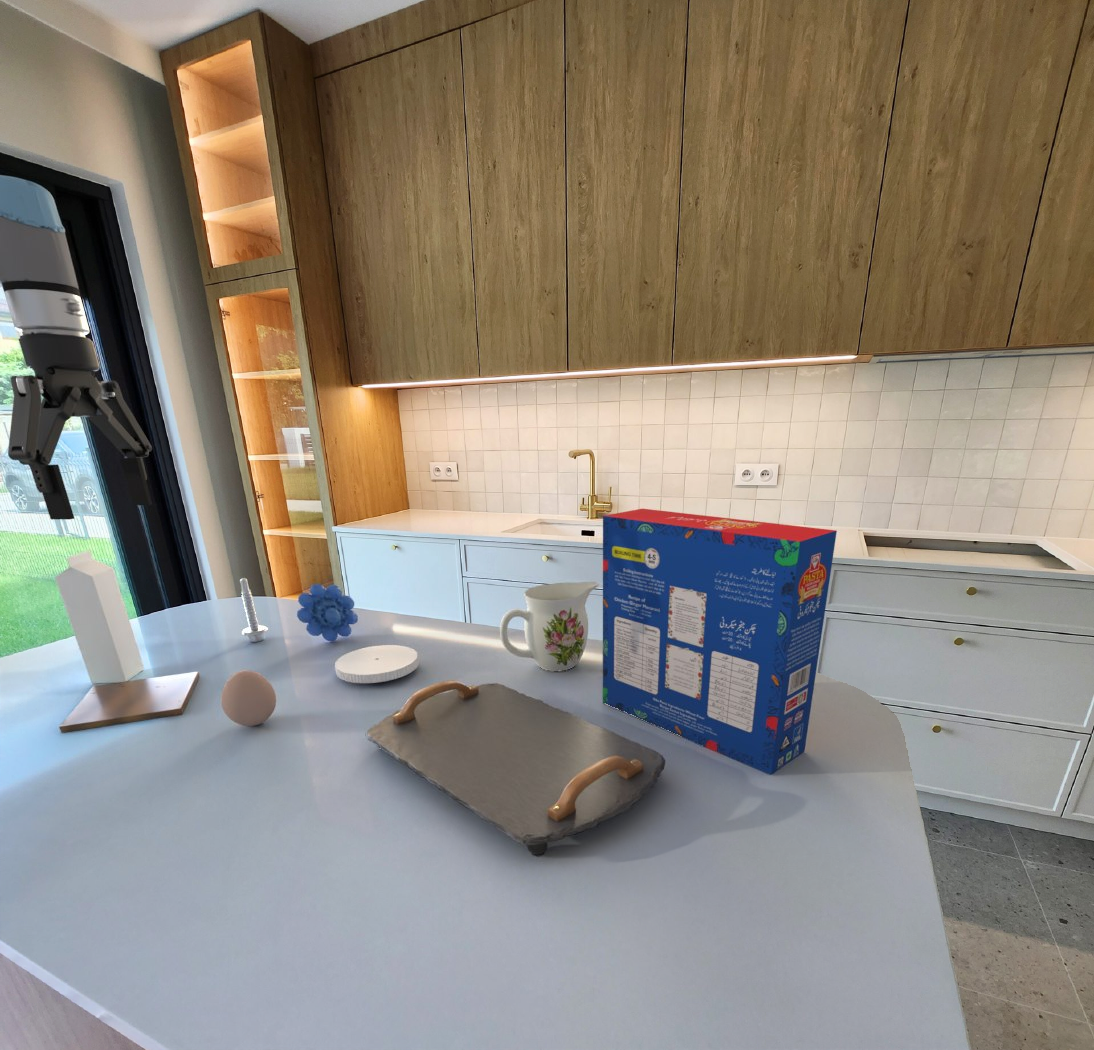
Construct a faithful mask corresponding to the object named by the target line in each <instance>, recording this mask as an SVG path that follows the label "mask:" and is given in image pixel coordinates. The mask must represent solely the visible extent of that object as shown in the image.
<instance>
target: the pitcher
mask: <svg viewBox="0 0 1094 1050" xmlns="http://www.w3.org/2000/svg"><path fill="white" fill-rule="evenodd" d="M599 586H600V582H598V581H582V582H581V581H580V582H556V583H554V582H553V583H545V584H542V585H536V586H534V587H533V586H532V587H530V588H528V589H526V590H525V591H524V598H525V602H526V606H527V607H526V610H524V609H521V608H512V609H510V610H508V611H506V613H505V614H504V615H503V616H502V618H501V620H500V624H499V636H500V641H501V643H502V645H503V647H504V648H505V649H506V650H507V651H508V652H509V653H510V654H512V655H513V656H516V657H519V658H527V659H529V658H530V659H533V660H534V662H535V663H536V664H537V665H538V667H539V666H540V667H541V668H543V669H545V670H544V671H547V670H552V671H551V672H554V671H558V672H560V671H559V670H566V669H569V668H571V667H573V666H575V665H576V666H577V664H578V663H579V661H580V660H581V659H582V657H583V655H584V652H585V649H586V647H587V641H588V637H589V617H588V613H587V610H586V609H587V608H586V603H587V600H588V598H589V596H590V594H591V592H593V590H595V589H596V588H597V587H599ZM514 618H523V619H524V621H523V623H524V624H523V628H524V638H525V641H526V646H527V649H524V648H523V649H522V648H519V647H516V646H515V645H514V644H512V643H511V642H510V640H509V637H508V636H509V635H508V626H509V624H510V622H511V620H512V619H514ZM576 666H575V667H576ZM540 667H539V668H540ZM541 668H540V669H541ZM543 669H542V670H543ZM566 671H567V670H566Z"/></svg>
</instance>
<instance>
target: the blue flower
mask: <svg viewBox="0 0 1094 1050" xmlns="http://www.w3.org/2000/svg"><path fill="white" fill-rule="evenodd" d="M298 603H299V605H300V606H301V607H300V608H298V610H297V611H296V617H297V619H298V620H299V621H300V622H301V623H303V624H306V631H307V633H308V634H309V635H310V636H312V637H319V636H322V638H323V639H324V640H325V641H327V642H335V641H336V640H337V639H338V638H339V637H338V636H340V637H349V636H350V635H351V634H352V627H351V626H350V625H355V624H357V623H358V620H359V616H358V614H357V613H356V612H355V611H354V610H352V609H354V607H355V601H354V599H353V598H352V596H349V595H343V591H342V589H341V588H340V586H338V585H336V584H330V585H328V586H327V587H326V588H325V587H324V585H322V584H321V583H313V584H312V585H311V586H310V587H309V593H308V592H302V593H300V594H299V595H298Z"/></svg>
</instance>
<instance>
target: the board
mask: <svg viewBox="0 0 1094 1050" xmlns="http://www.w3.org/2000/svg"><path fill="white" fill-rule="evenodd" d="M199 679H200V672H199V670H198V671H191V672H184V673H177V674H176V673H175V674H170V675H169V674H168V675H162V676H156V677H147V678H141V679H135V680H133V679H132V680H128V681H125V682H115V683H103V684H97V685H93V686H92V687H91V689H89V691H88V692H86V694H85V695H84V696H83V698H82V699H81V700H80V701H79V703H78V704H77V705H76V706H75V707H74V709H73V710H72V711H71V712H70V714H69V715H68V716H67V717H66V718H65V719H64V720H63V722H62V723H61V724H60V725H59V730H60V733H62V734H63V733H69V732H75V731H80V730H81V731H82V730H87V729H94V728H100V727H106V726H114V725H120V724H126V723H132V722H140V721H144V720H152V719H158V718H164V717H171V716H178V715H183V713H184V711H185V709H186V707H187V705H188V702H189V701H190V697H191V696H192V694H193V692H194V690H195V687H196V685H197V683H198V681H199Z"/></svg>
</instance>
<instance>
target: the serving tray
mask: <svg viewBox="0 0 1094 1050" xmlns="http://www.w3.org/2000/svg"><path fill="white" fill-rule="evenodd" d="M364 737H365V738H366V739H367V740H368V741H369V742H371V743H372V744H373V745H375V746H376V747H377V748H378V749H379V748H381V749H382V750H381V751H383V752H385V753H386V754H388V755H390V756H391V757H392V758H395V760H397V762H399V763H401V764H402V765H404V766H406V767H407V768H408V769H410V770H412V771H413V772H414V773H415V774H416V775H417V776H420V777H421V778H423V779H425V780H426V781H428V783H429V784H431V785H434V786H435V787H436V788H437V789H438V790H440V791H442V792H443V793H445V794H446V795H448V796H449V797H450V798H451V799H453V800H454V801H456V802H458V803H460V804H461V805H462V806H463V807H465V808H466V809H468V810H470V811H471V812H473V813H474V814H475V815H477V816H479V817H480V818H481V819H482V820H484V821H485V822H487V823H488V824H490V825H491V826H493V827H495V828H496V829H498V830H499V831H500V832H502V833H503V834H505V836H507V837H508V838H510V839H512V840H513V841H515V842H517V843H518V844H520V845H523V846H526V848H527V850H528V852H530V854H531V855H532V856H534V857H541V856H543V855H544V853H545V851H547V848H548V845H549V844H548V843H550V842H555V841H559V840H562V839H564V838H566V837H569V836H574V835H576V834H580V833H582V832H586V831H588V830H591V829H593V828H595V827H596V826H598V825H601V824H602V823H604V822H606V821H608V820H611V819H612V818H614V817H617V816H619V815H621V814H622V813H624V812H625V811H627V810H629V809H630V808H631V807H633V806H634V805H635V804H636V803H637V802H639V801H641V799H642V797H643V796H645V794H646V793H647V792H648V791H650V790H651V789H652V788H654V786H655V785H656V783H657V782H658V779H659V777H661V774H662V772H663V771H664V770H665V766H666V759H665V757H664V755H662V754H661V753H659V752H658V751H656V750H654V749H652V748H649V747H647V746H645V745H642V744H640V743H639V742H636V741H633V740H630V739H628V738H627V737H624V736H622V735H620V734H618V733H616V732H614V731H611V730H609V729H607V728H604V727H601V726H597V725H595V724H593V723H590V722H588V721H586V720H585V719H583V718H581V717H580V716H578V715H576V714H573V713H570V712H568V711H566V710H563V709H561V708H558V707H555V706H553V705H550V704H548V703H546V702H544V700H541V699H537V698H534V697H532V696H528V695H526V694H524V693H522V692H520V691H518V690H516V689H514V688H511V687H508V686H506V685H504V684H501V683H497V682H494V683H481V684H479V685H475V684H474V685H471V686H468V685H466V684H465V683H463V682H461V681H458V680H454V679H453V680H445V681H441V682H437V683H434V684H432V685H429V686H426V687H424V688H421V689H420V690H418V691H417V692H415V693H413V694H412V695H411V696H410V697H409V698H408V699H407V701H405V704H404V705H403V706H402V708H400V709H397V711H395V712H393V713H392V714H390V715H388V716H386V717H385V718H384V719H382V720H381V721H380V722H378V723H377V724H374V725H372V726H371V727H370V728H369V729H368V730H367V731H366V733H365V735H364Z"/></svg>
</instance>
